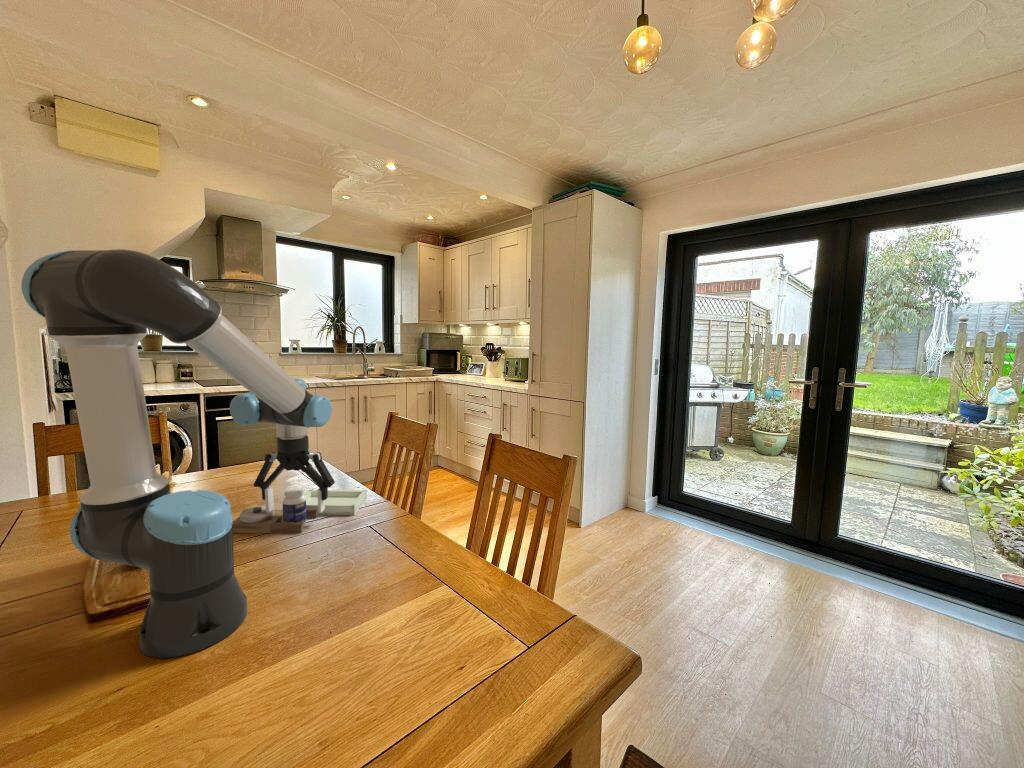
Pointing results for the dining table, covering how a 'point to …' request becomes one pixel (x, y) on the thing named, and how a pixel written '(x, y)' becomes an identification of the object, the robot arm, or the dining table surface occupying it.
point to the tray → (338, 501)
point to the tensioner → (268, 521)
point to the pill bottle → (294, 505)
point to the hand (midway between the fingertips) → (295, 511)
